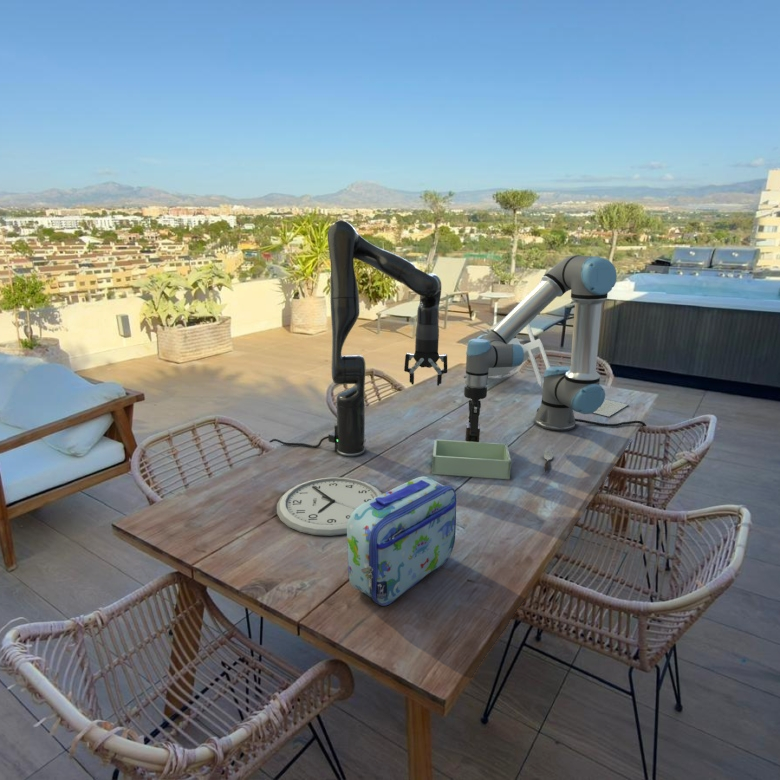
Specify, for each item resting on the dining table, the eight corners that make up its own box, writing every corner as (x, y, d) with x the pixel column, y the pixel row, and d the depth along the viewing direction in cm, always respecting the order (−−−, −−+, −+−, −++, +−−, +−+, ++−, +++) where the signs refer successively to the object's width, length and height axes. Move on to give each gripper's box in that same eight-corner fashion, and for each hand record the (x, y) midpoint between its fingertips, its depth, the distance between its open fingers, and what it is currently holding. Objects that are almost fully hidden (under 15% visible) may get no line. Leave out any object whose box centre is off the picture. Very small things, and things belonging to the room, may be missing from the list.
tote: (505, 460, 172) (507, 443, 171) (509, 479, 159) (511, 461, 158) (433, 455, 175) (434, 439, 173) (432, 474, 162) (432, 456, 160)
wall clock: (392, 527, 129) (268, 531, 127) (391, 533, 130) (269, 537, 127) (383, 473, 158) (282, 475, 155) (383, 478, 158) (282, 480, 156)
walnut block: (477, 445, 184) (479, 424, 182) (478, 450, 180) (480, 428, 177) (465, 444, 185) (466, 423, 182) (465, 449, 180) (466, 427, 178)
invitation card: (608, 416, 214) (573, 407, 224) (608, 416, 214) (573, 408, 224) (628, 404, 229) (594, 396, 238) (628, 405, 229) (594, 397, 238)
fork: (540, 473, 163) (541, 467, 163) (544, 453, 178) (545, 448, 177) (549, 474, 162) (550, 468, 162) (552, 454, 177) (553, 449, 176)
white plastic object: (490, 419, 265) (470, 397, 240) (471, 347, 287) (451, 319, 262) (561, 395, 253) (548, 369, 228) (536, 321, 275) (521, 290, 250)
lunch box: (376, 619, 101) (377, 524, 95) (340, 592, 109) (339, 502, 102) (459, 562, 119) (465, 479, 113) (424, 542, 126) (427, 463, 120)
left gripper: (449, 335, 173) (446, 382, 178) (406, 333, 174) (404, 380, 179) (449, 339, 166) (446, 388, 171) (404, 338, 167) (403, 386, 172)
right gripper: (464, 375, 186) (460, 434, 193) (465, 394, 165) (461, 459, 172) (485, 376, 186) (481, 435, 192) (489, 396, 164) (484, 460, 171)
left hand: (425, 384), depth 175 cm, fingers open, 8 cm apart
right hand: (471, 446), depth 182 cm, fingers open, 10 cm apart
